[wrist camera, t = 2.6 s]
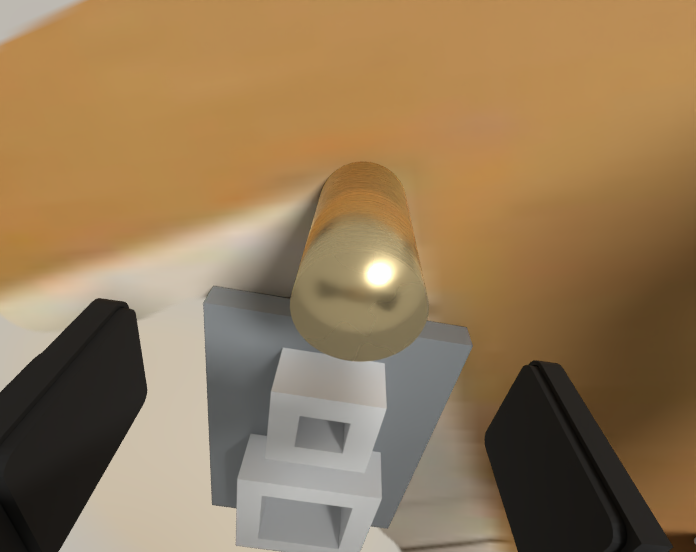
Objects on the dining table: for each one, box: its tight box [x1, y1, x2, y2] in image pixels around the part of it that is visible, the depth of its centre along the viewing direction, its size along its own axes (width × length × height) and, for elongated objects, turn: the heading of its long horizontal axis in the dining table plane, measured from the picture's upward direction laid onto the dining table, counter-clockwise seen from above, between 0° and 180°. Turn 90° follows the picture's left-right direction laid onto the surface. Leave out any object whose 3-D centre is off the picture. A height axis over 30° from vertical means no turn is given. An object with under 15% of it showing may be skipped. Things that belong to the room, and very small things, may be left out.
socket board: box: [203, 286, 473, 552], centre depth 25 cm, size 20×14×4 cm
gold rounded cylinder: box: [290, 162, 429, 362], centre depth 15 cm, size 4×4×8 cm
